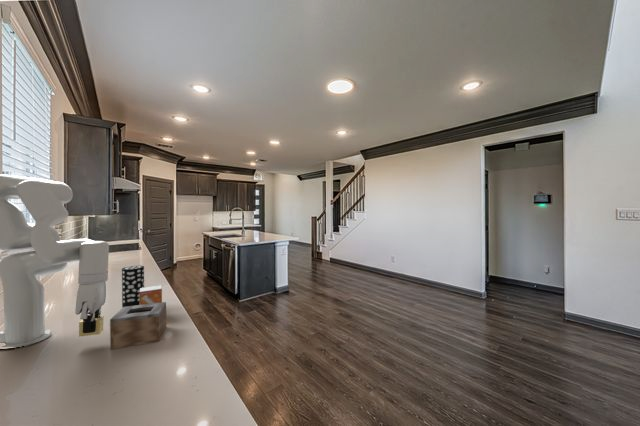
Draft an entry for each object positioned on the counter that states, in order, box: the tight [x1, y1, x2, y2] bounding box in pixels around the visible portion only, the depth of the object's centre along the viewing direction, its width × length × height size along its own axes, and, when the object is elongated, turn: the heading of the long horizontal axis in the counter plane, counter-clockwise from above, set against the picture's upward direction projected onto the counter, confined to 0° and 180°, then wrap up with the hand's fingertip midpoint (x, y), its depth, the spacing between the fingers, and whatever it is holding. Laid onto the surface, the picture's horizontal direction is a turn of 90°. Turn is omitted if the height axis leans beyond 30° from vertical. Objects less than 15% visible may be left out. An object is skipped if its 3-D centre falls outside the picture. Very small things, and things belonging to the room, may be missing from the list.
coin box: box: [109, 301, 167, 350], centre depth 92 cm, size 14×12×10 cm
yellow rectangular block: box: [78, 315, 104, 338], centre depth 87 cm, size 6×3×5 cm, turn 111°
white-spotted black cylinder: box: [121, 265, 145, 309], centre depth 117 cm, size 8×8×20 cm
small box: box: [139, 285, 163, 305], centre depth 109 cm, size 8×6×13 cm
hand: (91, 329), depth 87 cm, fingers closed on yellow rectangular block, 2 cm apart
